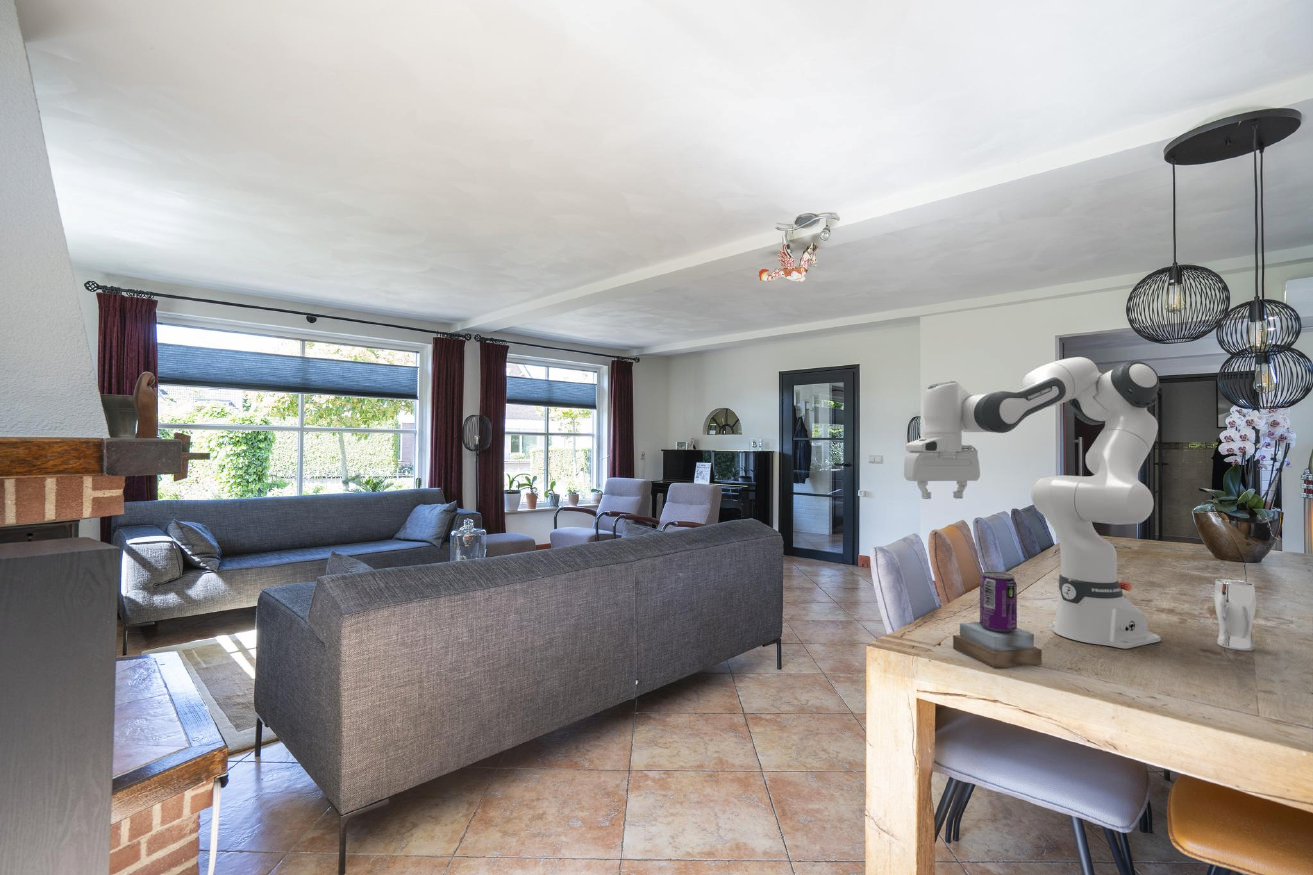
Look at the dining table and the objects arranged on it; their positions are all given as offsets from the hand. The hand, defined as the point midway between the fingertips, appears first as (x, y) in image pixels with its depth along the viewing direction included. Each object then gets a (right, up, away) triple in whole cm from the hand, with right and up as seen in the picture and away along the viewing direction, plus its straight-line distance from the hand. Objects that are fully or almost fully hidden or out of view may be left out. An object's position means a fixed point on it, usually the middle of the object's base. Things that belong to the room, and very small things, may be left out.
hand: (942, 498), depth 152 cm
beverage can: (+2, -27, -21) cm, 34 cm away
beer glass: (+62, -33, -14) cm, 71 cm away
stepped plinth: (+2, -33, -21) cm, 39 cm away
